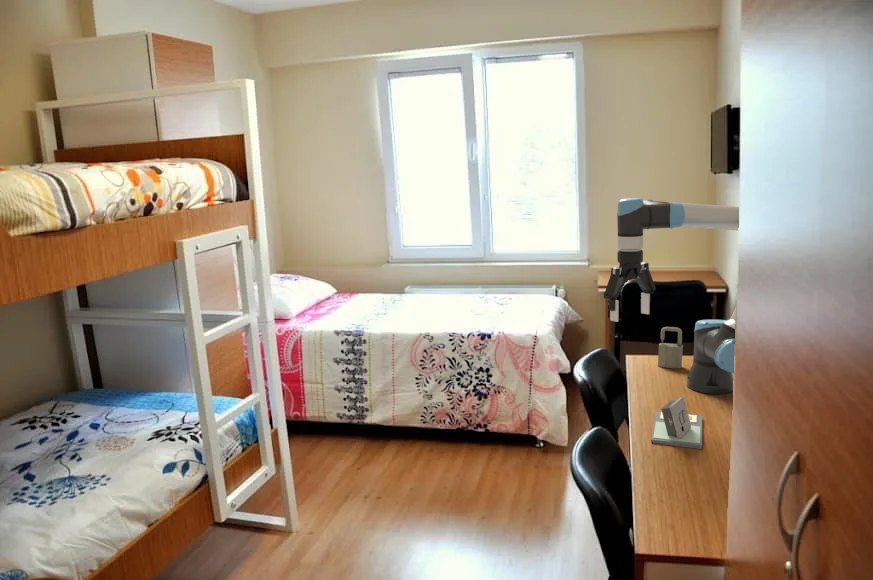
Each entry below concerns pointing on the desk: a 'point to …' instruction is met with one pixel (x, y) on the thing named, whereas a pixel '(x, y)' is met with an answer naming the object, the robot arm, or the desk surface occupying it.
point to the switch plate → (688, 440)
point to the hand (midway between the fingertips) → (630, 317)
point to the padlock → (670, 350)
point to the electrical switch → (676, 418)
